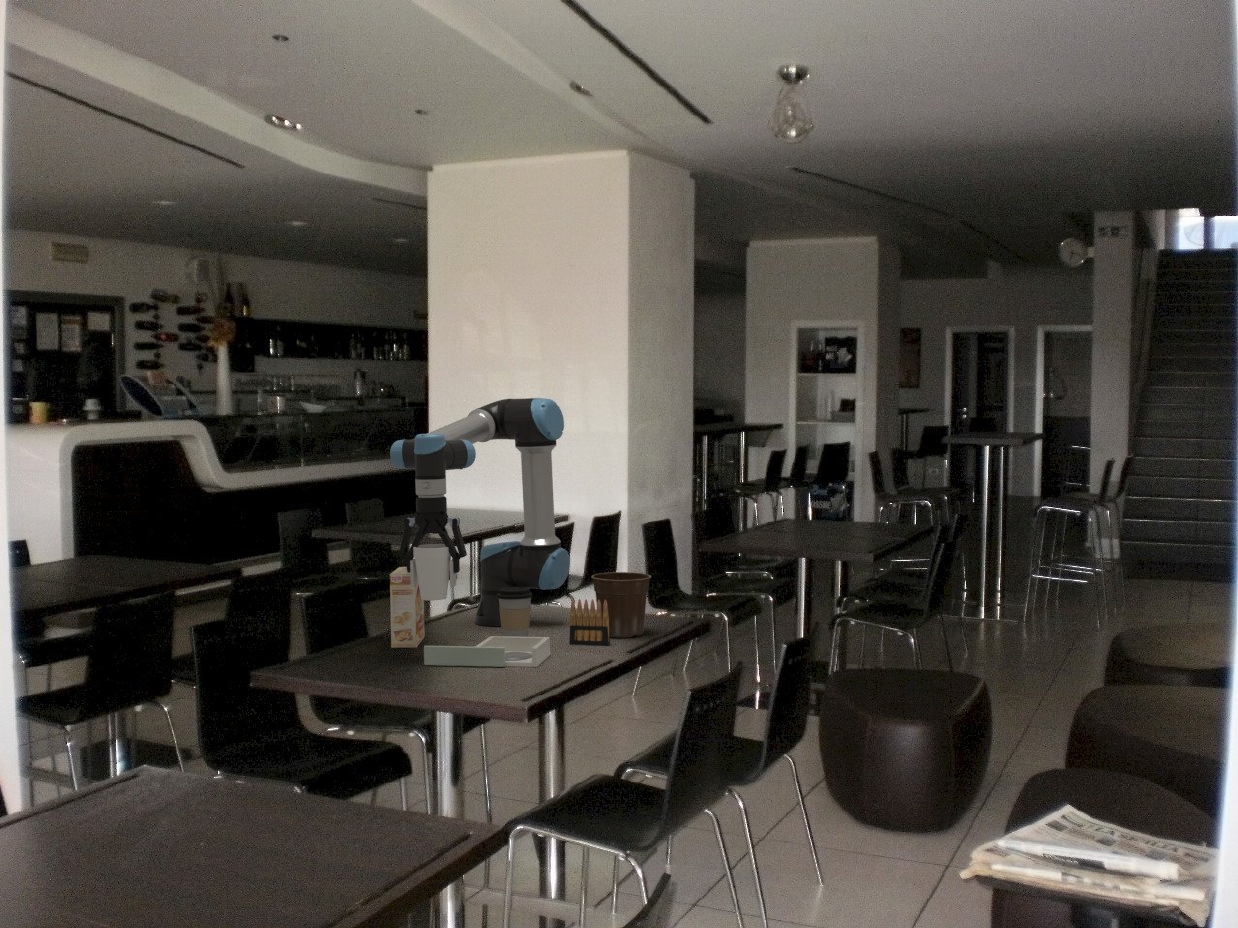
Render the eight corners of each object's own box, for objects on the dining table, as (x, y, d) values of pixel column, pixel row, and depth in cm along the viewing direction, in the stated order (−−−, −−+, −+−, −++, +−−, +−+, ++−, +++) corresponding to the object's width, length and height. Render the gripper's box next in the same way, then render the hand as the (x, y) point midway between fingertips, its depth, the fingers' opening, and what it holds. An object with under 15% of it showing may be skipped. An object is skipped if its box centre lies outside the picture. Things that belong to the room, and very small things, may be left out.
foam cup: (417, 602, 302) (415, 549, 301) (412, 596, 311) (411, 545, 310) (455, 599, 304) (454, 547, 304) (450, 594, 313) (448, 543, 313)
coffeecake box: (417, 647, 323) (415, 573, 322) (390, 648, 323) (388, 573, 322) (425, 636, 338) (424, 565, 337) (399, 637, 338) (398, 566, 337)
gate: (425, 663, 301) (425, 645, 301) (505, 665, 298) (505, 647, 298) (424, 664, 300) (423, 646, 300) (504, 666, 297) (503, 648, 297)
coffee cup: (536, 642, 327) (535, 586, 326) (530, 649, 318) (529, 591, 317) (501, 642, 328) (500, 586, 327) (494, 649, 319) (492, 591, 318)
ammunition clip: (610, 644, 323) (609, 599, 323) (608, 646, 321) (608, 600, 321) (571, 643, 326) (570, 598, 325) (569, 644, 324) (568, 599, 324)
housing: (491, 653, 314) (490, 636, 313) (550, 654, 311) (549, 637, 311) (474, 665, 300) (474, 647, 299) (536, 666, 297) (536, 648, 297)
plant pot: (649, 628, 346) (649, 570, 345) (654, 639, 330) (653, 579, 329) (591, 629, 345) (590, 572, 344) (593, 640, 329) (592, 580, 328)
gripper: (383, 497, 304) (385, 587, 306) (469, 497, 300) (472, 588, 302) (393, 494, 312) (396, 583, 313) (478, 494, 308) (480, 583, 309)
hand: (433, 585), depth 307 cm, fingers closed on foam cup, 9 cm apart
